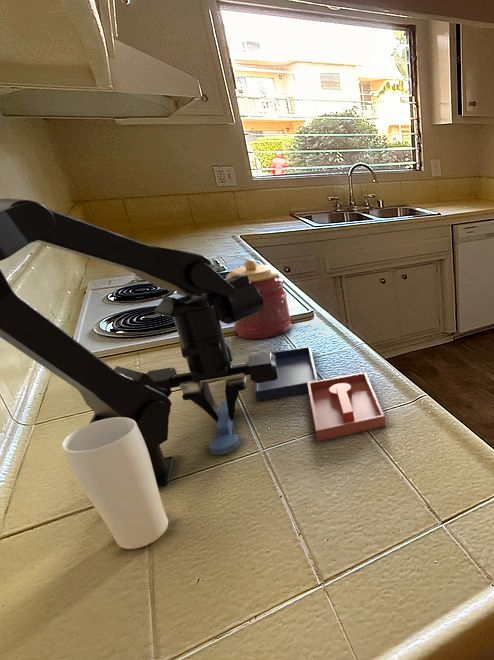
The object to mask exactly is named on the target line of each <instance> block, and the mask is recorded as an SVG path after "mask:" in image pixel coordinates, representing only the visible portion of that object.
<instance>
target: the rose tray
mask: <svg viewBox="0 0 494 660" xmlns="http://www.w3.org/2000/svg"><path fill="white" fill-rule="evenodd" d="M338 383H347V384H349V385H350V386H351V390H352V393H351V395H350V396H348V397H349V400H350V403H351V406H352V410H353V414H354V421H352V422H348V423H344V420H343V416H342V413H341V409H340V406H339V402H338V399H333V398H331V397H330V395H329V388H330V387H331V386H332V385H335V384H338ZM307 385H308V391H309V392H308V396H309V401H310V409H311V413H312V418H313V423H314V429H315V434H316V440H317V442H320V441H324V440H329V439H334V438H339V437H343V436H348V435H351V434H357V433H360V432H361V433H362V432H365V431H370V430H374V429H379V428H383V427H386V426H387V422H386V415H385V413H384V411H383V408H382V406H381V404H380V402H379V399H378V397H377V394H376V392H375V390H374V387H373V385H372V383H371V381H370V379H369V376H368V374H367V372H366V371H364V372H359V373H353V374H347V375H341V376H336V377H331V378H326V379H320V380H319V379H318V381H314V382H308V383H307Z"/></svg>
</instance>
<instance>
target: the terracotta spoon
mask: <svg viewBox="0 0 494 660" xmlns="http://www.w3.org/2000/svg"><path fill="white" fill-rule="evenodd" d="M351 393H352V390H351V386H350V385H349V384H347V383H338V384H335V385H332V386H331V387H330V388H329V395H330V397H331V398H333V399H338V402H339V406H340V409H341V413H342V416H343V420H344V423H348V422H352V421H354V414H353V410H352V406H351V403H350V400H349V397H348V396H350V395H351Z"/></svg>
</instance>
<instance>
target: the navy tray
mask: <svg viewBox="0 0 494 660" xmlns="http://www.w3.org/2000/svg"><path fill="white" fill-rule="evenodd" d="M270 352H271V353H273V354H274V355H275V357H276V362H277V369H278V378H277V379H276V380H273V381H268V382H262V383H256V382H254V394H255V398H256V401H257V402H261V401H266V400H271V399H277V398H283V397H288V396H293V395H299V394H304V393H309V391H308V385H307V383H308V382H314V381H319V379H318V374H317V370H316V369H317V368H316V365H315V361H314V356H313V352H312V346H302V347H297V348H290V349H284V350H278V351H277V350H276V351H270Z"/></svg>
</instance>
